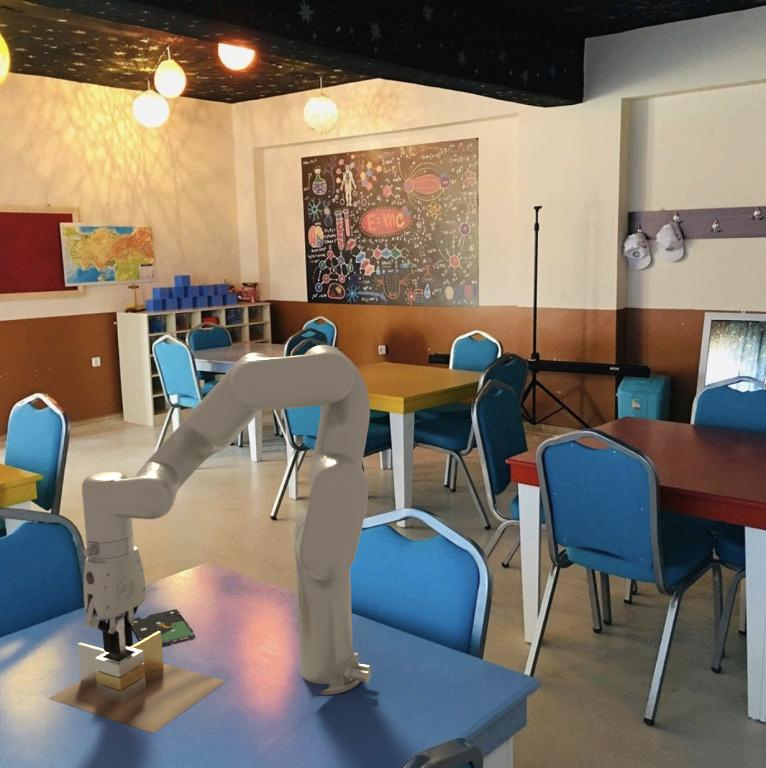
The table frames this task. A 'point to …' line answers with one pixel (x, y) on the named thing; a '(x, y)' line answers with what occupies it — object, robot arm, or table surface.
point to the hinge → (121, 668)
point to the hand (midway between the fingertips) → (118, 647)
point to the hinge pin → (120, 638)
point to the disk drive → (163, 627)
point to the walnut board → (145, 698)
